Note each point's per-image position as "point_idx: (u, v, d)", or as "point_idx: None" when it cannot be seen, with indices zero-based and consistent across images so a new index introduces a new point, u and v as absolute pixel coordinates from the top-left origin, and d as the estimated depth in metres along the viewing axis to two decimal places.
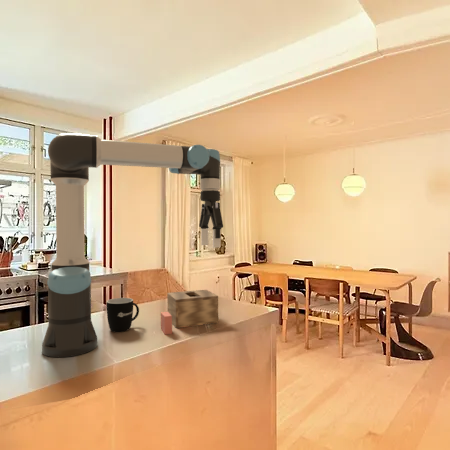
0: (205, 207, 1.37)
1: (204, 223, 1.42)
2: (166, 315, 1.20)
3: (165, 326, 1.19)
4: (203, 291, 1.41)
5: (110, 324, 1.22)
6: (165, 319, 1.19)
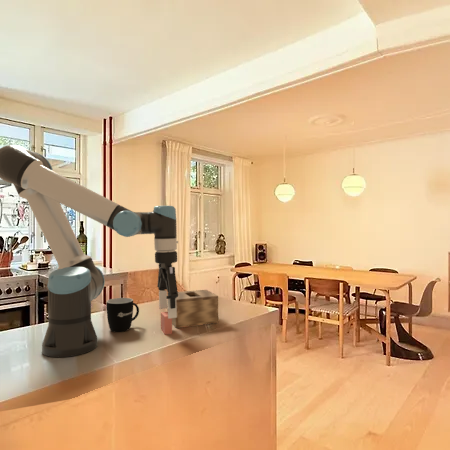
0: None
1: (162, 285, 1.27)
2: (166, 315, 1.20)
3: (165, 326, 1.19)
4: (203, 291, 1.41)
5: (110, 324, 1.22)
6: (165, 319, 1.19)
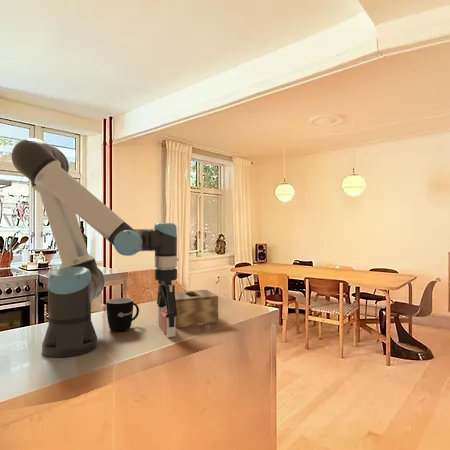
0: (160, 286, 1.22)
1: (161, 302, 1.27)
2: None
3: (165, 326, 1.19)
4: (203, 291, 1.41)
5: (110, 324, 1.22)
6: (165, 319, 1.19)
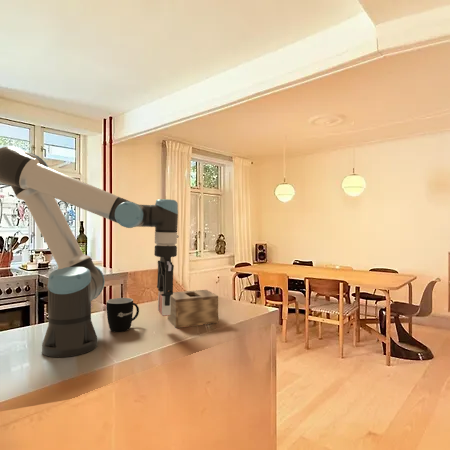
0: (159, 262, 1.22)
1: (161, 283, 1.25)
2: None
3: None
4: (203, 291, 1.41)
5: (110, 324, 1.22)
6: None
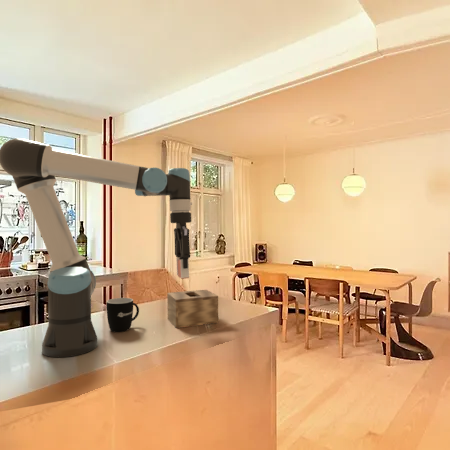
0: (176, 229, 1.29)
1: (178, 249, 1.31)
2: None
3: None
4: (203, 291, 1.41)
5: (110, 324, 1.22)
6: None
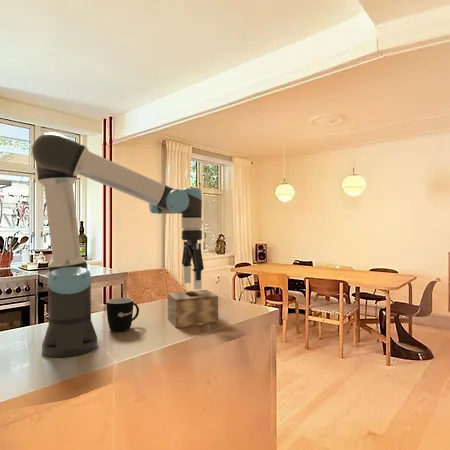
0: (187, 246, 1.35)
1: (186, 261, 1.40)
2: None
3: None
4: (203, 291, 1.41)
5: (110, 324, 1.22)
6: None
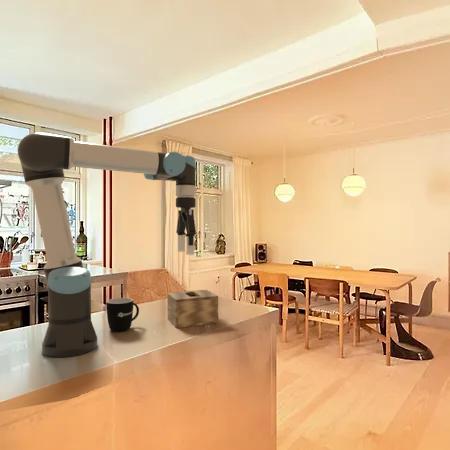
0: (180, 214, 1.36)
1: (180, 229, 1.42)
2: None
3: None
4: (203, 291, 1.41)
5: (110, 324, 1.22)
6: None
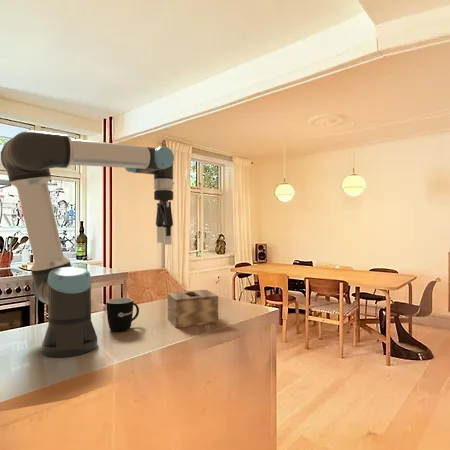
0: None
1: (159, 221, 1.48)
2: None
3: None
4: (203, 291, 1.41)
5: (110, 324, 1.22)
6: None
